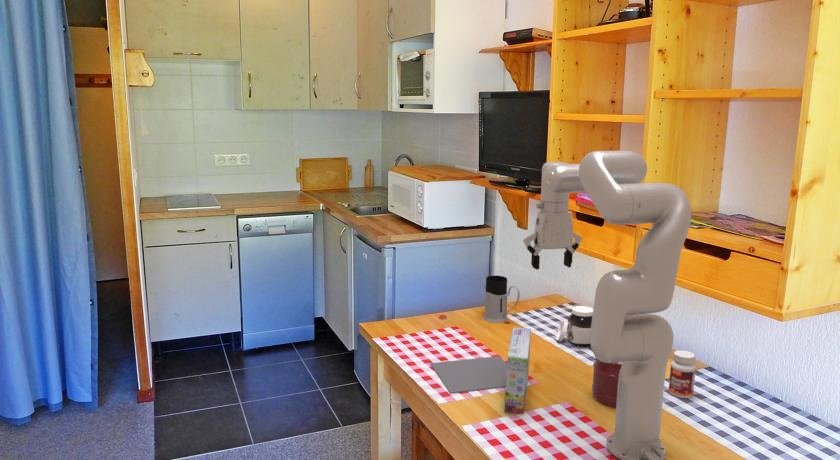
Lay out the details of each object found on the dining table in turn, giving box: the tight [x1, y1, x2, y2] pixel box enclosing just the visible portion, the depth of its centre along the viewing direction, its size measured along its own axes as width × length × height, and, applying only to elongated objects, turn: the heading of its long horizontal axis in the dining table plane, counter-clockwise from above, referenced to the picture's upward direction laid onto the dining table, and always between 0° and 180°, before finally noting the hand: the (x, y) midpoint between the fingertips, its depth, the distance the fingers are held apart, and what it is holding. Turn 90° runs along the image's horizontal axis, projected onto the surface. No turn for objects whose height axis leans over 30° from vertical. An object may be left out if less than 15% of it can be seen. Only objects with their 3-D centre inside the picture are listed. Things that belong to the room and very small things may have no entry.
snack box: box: [503, 327, 532, 414], centre depth 167 cm, size 21×6×15 cm, turn 168°
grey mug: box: [482, 275, 520, 324], centre depth 225 cm, size 9×14×15 cm, turn 46°
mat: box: [429, 355, 507, 394], centre depth 182 cm, size 20×22×1 cm
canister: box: [591, 354, 623, 408], centre depth 166 cm, size 13×13×18 cm
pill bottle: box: [668, 350, 697, 399], centre depth 169 cm, size 6×6×11 cm
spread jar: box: [555, 305, 594, 348], centre depth 205 cm, size 12×11×12 cm
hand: (551, 267), depth 178 cm, fingers open, 9 cm apart
